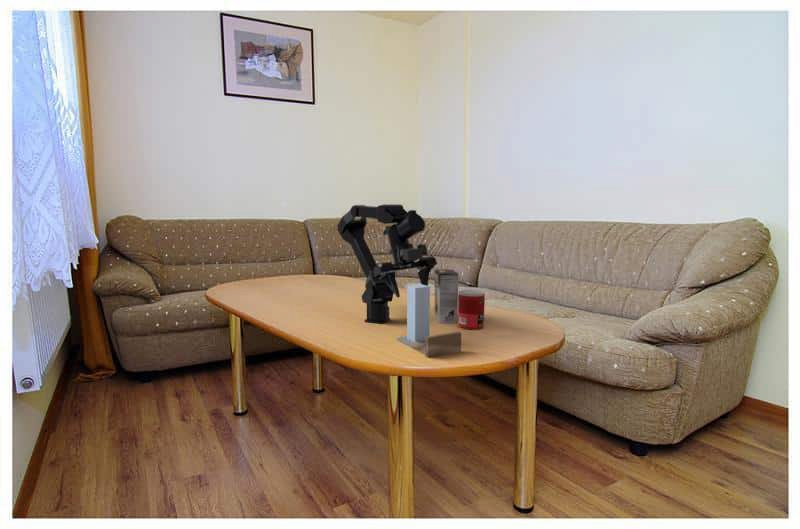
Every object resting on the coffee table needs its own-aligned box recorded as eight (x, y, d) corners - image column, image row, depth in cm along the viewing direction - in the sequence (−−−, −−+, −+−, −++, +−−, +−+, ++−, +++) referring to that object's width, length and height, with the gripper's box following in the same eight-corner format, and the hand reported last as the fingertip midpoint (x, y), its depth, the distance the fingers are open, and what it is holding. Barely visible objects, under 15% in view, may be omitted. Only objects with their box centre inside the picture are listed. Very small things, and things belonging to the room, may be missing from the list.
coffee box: (433, 316, 158) (434, 269, 156) (452, 316, 159) (453, 269, 157) (438, 323, 149) (438, 273, 147) (458, 322, 150) (458, 272, 148)
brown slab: (410, 348, 123) (410, 329, 123) (442, 342, 128) (442, 325, 127) (427, 357, 116) (428, 337, 115) (461, 351, 120) (461, 332, 120)
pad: (396, 339, 132) (396, 337, 131) (423, 335, 136) (423, 333, 136) (412, 347, 124) (412, 346, 124) (440, 343, 128) (440, 341, 128)
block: (407, 338, 131) (407, 285, 129) (421, 336, 133) (421, 284, 131) (415, 342, 127) (415, 288, 125) (429, 340, 129) (429, 286, 127)
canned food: (483, 330, 140) (484, 294, 139) (456, 329, 142) (457, 293, 141) (484, 324, 148) (485, 290, 146) (458, 323, 149) (459, 289, 148)
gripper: (381, 238, 128) (395, 293, 125) (439, 231, 137) (453, 283, 134) (367, 250, 138) (379, 302, 135) (422, 244, 147) (434, 292, 144)
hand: (412, 294), depth 137 cm, fingers open, 9 cm apart
